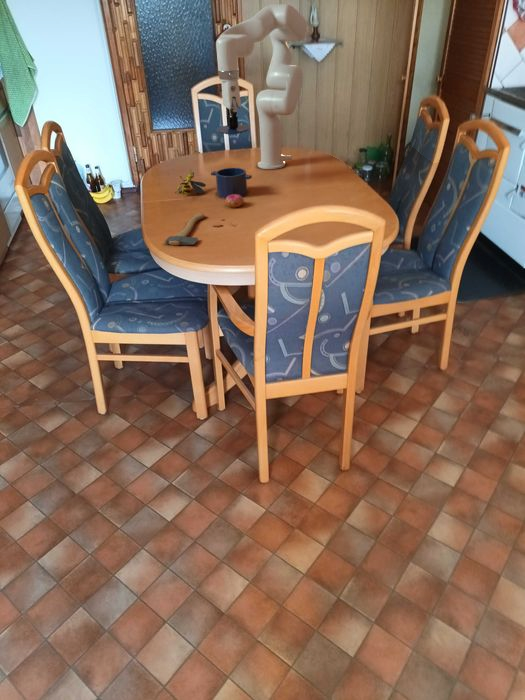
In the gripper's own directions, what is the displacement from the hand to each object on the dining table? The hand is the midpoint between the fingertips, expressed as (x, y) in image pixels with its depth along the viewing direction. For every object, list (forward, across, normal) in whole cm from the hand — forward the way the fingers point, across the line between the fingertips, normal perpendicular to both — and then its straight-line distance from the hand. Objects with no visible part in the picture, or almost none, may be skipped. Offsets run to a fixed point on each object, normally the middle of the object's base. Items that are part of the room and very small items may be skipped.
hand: (232, 126), depth 210 cm
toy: (+23, -5, +22) cm, 32 cm away
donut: (+22, -25, +8) cm, 35 cm away
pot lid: (+1, 0, 0) cm, 1 cm away
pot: (+23, -11, +5) cm, 26 cm away
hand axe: (+22, -43, +28) cm, 56 cm away
